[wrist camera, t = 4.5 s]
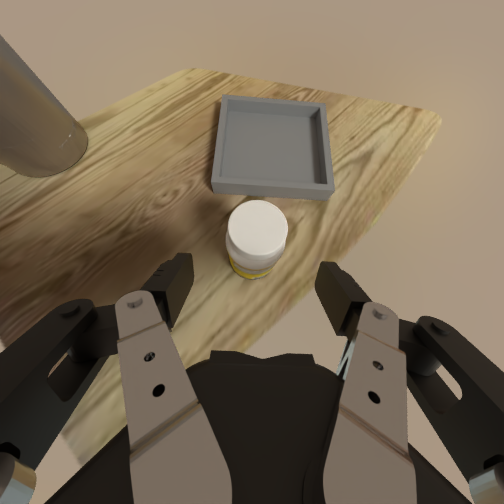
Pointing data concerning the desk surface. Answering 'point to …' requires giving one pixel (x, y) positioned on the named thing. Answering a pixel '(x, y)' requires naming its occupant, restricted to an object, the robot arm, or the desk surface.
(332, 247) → the desk surface
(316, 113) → the tray
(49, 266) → the desk surface
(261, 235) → the supplement bottle
